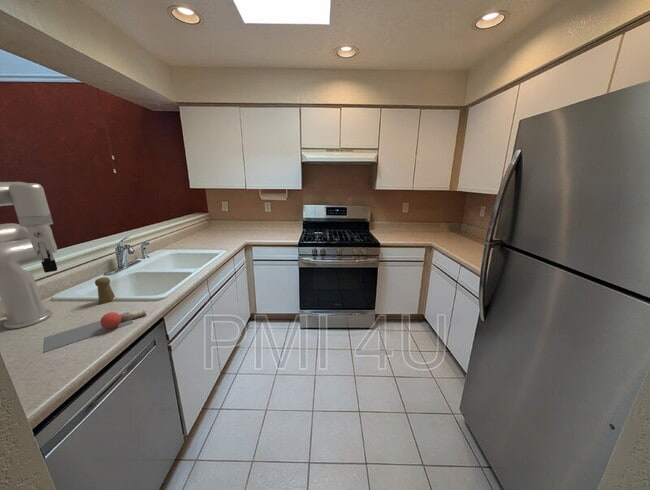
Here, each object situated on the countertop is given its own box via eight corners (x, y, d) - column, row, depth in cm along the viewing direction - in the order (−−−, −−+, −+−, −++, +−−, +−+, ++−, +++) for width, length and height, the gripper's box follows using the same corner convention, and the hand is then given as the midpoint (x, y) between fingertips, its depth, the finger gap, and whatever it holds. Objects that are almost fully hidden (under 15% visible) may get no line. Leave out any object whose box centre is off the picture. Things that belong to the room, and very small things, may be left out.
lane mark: (43, 352, 83) (43, 352, 83) (45, 337, 90) (45, 337, 90) (133, 322, 99) (133, 322, 99) (128, 312, 107) (128, 311, 107)
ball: (124, 324, 99) (105, 327, 97) (123, 309, 99) (104, 311, 97) (118, 329, 94) (97, 332, 91) (117, 313, 94) (96, 315, 91)
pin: (118, 318, 98) (145, 311, 103) (118, 315, 100) (144, 308, 105) (120, 323, 99) (146, 316, 104) (120, 320, 101) (145, 313, 106)
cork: (119, 297, 120) (113, 275, 117) (109, 303, 114) (103, 280, 111) (106, 297, 120) (100, 275, 117) (95, 303, 114) (88, 281, 111)
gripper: (51, 222, 84) (65, 274, 89) (52, 216, 94) (65, 263, 99) (16, 225, 79) (33, 280, 84) (21, 218, 89) (37, 267, 94)
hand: (51, 271), depth 91 cm, fingers closed
